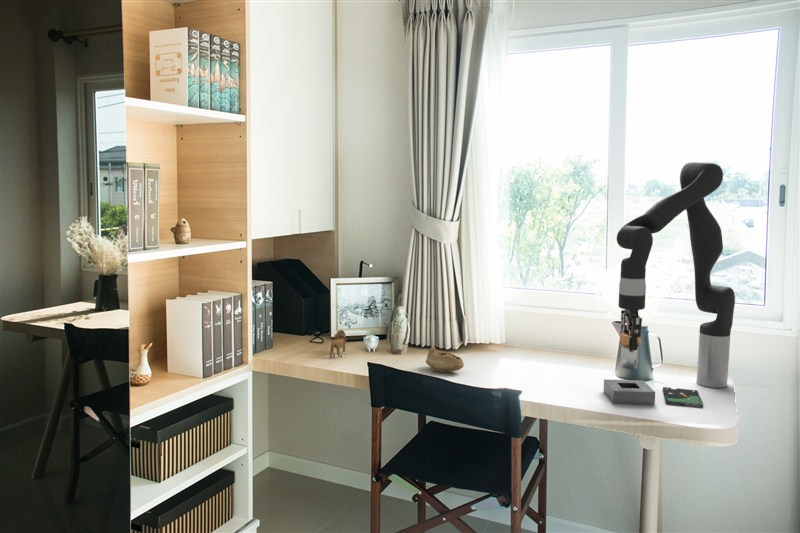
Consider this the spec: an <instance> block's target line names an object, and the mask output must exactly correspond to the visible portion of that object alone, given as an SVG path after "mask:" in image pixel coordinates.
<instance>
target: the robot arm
mask: <svg viewBox="0 0 800 533" xmlns="http://www.w3.org/2000/svg"><path fill="white" fill-rule="evenodd" d="M723 179H724V172H723V169H722V167H721V166H720V165H719V164H717V163H713V162H702V161H701V162H699V161H698V162H697V161H693V162H692V161H691V162H687V163H685V164H684V165H683V166H682V168H681V170H680V173H679V184H680V190H678V191H677V192H675V193H673V194H670V195H668V196H665V197H664V198H661V199H660V200H658V201H656V203H654V204H653V205H652V206H651V207H650V208H648V209H647V210H646V211H645V212H644V213H643V214H641V215H639V216H638V217H636V218H634V219H632V220H631V221H629V222H626V224H624V225H623V226H622V227H621V228H620V229H619V230H618V232H617V234H616V243H617V244H618V247H621V248H622V249H626V250H631V253H630V255H629V257H628V256H627V257H624V258H623V259H622V260H621V262H620V279H619V285H618V308H620V309H621V310H620V313H621V314H620V319H621V320H620V324H621V325H620V328H621V331H622V333H629V337H630V338H629V349H630V350H637V341H638V338H639V337H640V336H641V337H642V335H641V334H642V322H643V318H642V317H640V315H639V311H640V310H641V311H642V310H644V309H645V308H646V288H647V287H646V286H647V284H646V270H647V269H646V267H647V262H648V260H649V256H650V253H651V250H652V247H653V242H654V237H653V234H657V233H659V232H661V231H662V230H663V229H664V228H665V227H666V226H668V225H669V223H671V222H672V221H673V220H674V219H675V218H676V217H678V216H679V215H681V213H683V212H684V211H686V216H687V222H688V229H689V239H690V240H689V241H690V246H691V248H690V249H691V252H692V259H693V260H692V261H693V268H694V293H695V303H696V307H697V309H698V310H699V311H701V312H704V313H707V314H708V313H709V314H715V315H716V319H714V320H713V321H709V322H703V323H701V324H700V325H699V336H698V337H699V338H698V351H697V353H698V354H697V355H698V356H697V368H696V369H697V370H696V383H697V385H700V386H703V387H706V388H713V389H723V388H726V387H728V377H729V376H728V375H729V365H730V364H729V362H730V349H731V348H730V347H731V332H732V331H731V330H732V327H733V323H734V322H733V321H734V313H735V312H734V310H735V303H736V295H735V294H736V293H735V291H734V289H733V288H732V287H729V286H723V285H714V284H712V282H711V272H712V270H713V267H714V266H715V264H716V263H717V262H718V260H719V258H720V256H721V255H722V252H723V249H724V243H723V234H722V229H721V226H720V224H719V223H718V221H717V219H716V218H715V217H714V215H713V214H712V211H710V209H709V207H708V206H707V204H706V201H705V198H706V197H708V196H709V195H711V194H713V193H714V192H716V190H718V189H719V187H720V186H721V185H722V183H723Z"/></svg>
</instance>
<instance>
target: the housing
mask: <svg viewBox="0 0 800 533" xmlns="http://www.w3.org/2000/svg"><path fill="white" fill-rule="evenodd" d="M603 393H604V395H605V396H606V398H607V399H608V400H609V401H610V402H611V404H612V405H625V406H655V403H656V402H655V401H656V391H655V390H654V389H653V388H652V387H650V385H649V384H648V383H646V382H645V381H644V380H639V379H637V380H636V379H603Z"/></svg>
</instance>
